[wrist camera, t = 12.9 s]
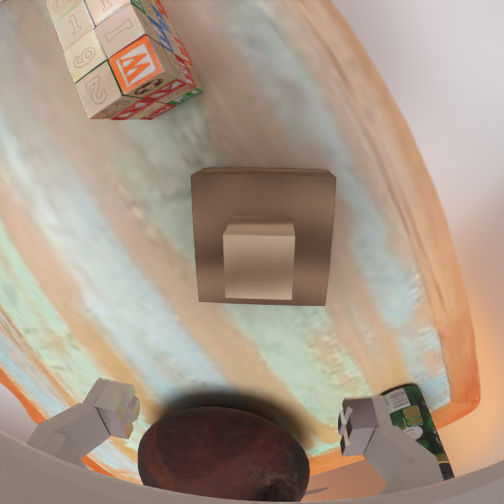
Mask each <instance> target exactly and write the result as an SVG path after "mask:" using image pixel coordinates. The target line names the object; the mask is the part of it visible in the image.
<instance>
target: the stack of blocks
mask: <svg viewBox="0 0 504 504" xmlns="http://www.w3.org/2000/svg"><path fill="white" fill-rule="evenodd" d="M46 5H47V8H48V11H49V14H50V17H51V20H52V23H53V25H54V26H55V30H56V33H57V36H58V38H59V41H60V44H61V47H62V49H63V51H64V53H63V54H64V57H65V60H66V63H67V66H68V68H69V71H70V73H71V76H72V79H73V81H74V83H75V88H76V91H77V93H78V96H79V98H80V101H81V103H82V106H83V108H84V111H85V113H86V116H87V117H88V119H107V118H109V119H110V120H126V119H144V120H145V119H147V120H151V119H153V118H155V117H157V116H158V115H160V114H162V113H164V112H166V111H167V110H169V109H171V108H173V107H175V106H176V105H178V104H179V103H181V102H183V101H185V100H187V99H189V98H191V97H193V96H195V95H197V94H199V93H201V92H203V89H202V87H201V84H200V82H199V80H198V78H197V76H196V74H195V72H194V70H193V67H192V63H191V61H190V59H189V57H188V55H187V53H186V51H185V49H184V47H183V45H182V43H181V41H180V39H179V36H178V34H177V32H176V30H175V28H174V26H173V24H172V22H171V21H170V20H169V19H168V17H167V15H166V13H165V11H164V9H163V7H162V5H161V3H160V2H159V0H47V1H46Z"/></svg>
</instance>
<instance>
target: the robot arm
mask: <svg viewBox="0 0 504 504" xmlns="http://www.w3.org/2000/svg"><path fill="white" fill-rule="evenodd" d="M1 1H3V0H0V2H1ZM134 393H135V388H134V386H133V385H131V384H126V383H121V382H117V381H112V380H107V379H103V378H99V379H97V381H96V382H95V384H94V385H93V387H92V389H91V390H90V392H89V393H88V395H87V397H86V398H85V400H84V401H83V403H82V404H81V403H78V404H77V405H75V406H73V407H71V408H69V409H67V410H65V411H63V412H61V413H59V414H58V415H56V416H54V417H52V418H50V419H48V420H46V421H44V422H42V423H40V424H38V426H37V427H36V429H35V431H34V432H33V434H32V435H31V437H30V438H29V440H28V441H27V443H26V444H25V443H23V442H21V441H19V440H17V439H15V438H13V437H11V436H9V435H8V434H6V433H4V432H2V431H0V504H504V460H503V461H500V462H498V463H495V464H493V465H491V466H488V467H485V468H482V469H480V470H477V471H474V472H471V473H468V474H465V475H462V476H458V477H455V478H452V479H448V480H445V481H444V479H443V476H442V473H441V470H440V467H439V464H438V461H437V458H436V456H435V455H433V454H432V453H431V452H429V451H428V450H427V449H426V448H424V447H423V446H422V445H420V444H419V443H418V442H417V441H415V440H414V439H413V438H411V437H410V436H409V435H408V434H406V433H405V432H404V431H403V430H401V429H400V428H399V427H398V426H393V425H392V421H391V418H390V415H389V412H388V409H387V405H386V402H385V399H384V397H383V396H382V395H378V396H364V397H350V398H344V400H343V403H342V407H343V410H342V411H340V414H339V418H338V431H339V434H340V435H341V436H342V439H341V442H340V445H341V452H342V456H352V455H363V456H364V457H365V458H366V460H368V462H369V463H370V464H371V465H372V466H373V467H374V468H375V470H376V471H377V472H378V473H379V474H380V475H381V476H382V477H383V478H384V479H385V480H386V481H387V484H386V486H385V487H384V488H383V490H382V491H381V492H380V494H379V495H375V496H368V497H360V498H351V499H342V500H329V501H311V502H262V501H244V500H231V499H221V498H212V497H204V496H197V495H190V494H184V493H178V492H173V491H168V490H163V489H158V488H153V487H149V486H145V485H140V484H136V483H132V482H129V481H125V480H121V479H118V478H114V477H111V476H107V475H104V474H101V473H98V472H95V471H91V470H89V469H87V466H86V465H85V464H84V462H83V461H82V460H81V458H82V457H84V456H85V455H86V454H88V453H89V452H90V451H92V450H93V449H94V448H96V447H97V446H98V445H100V444H101V443H102V442H104V441H105V440H106V439H107V438H109V437H110V435H111V436H115V437H120V438H124V439H129V437H130V434H131V432H132V430H133V425H132V422H134V421H135V420H137V418H138V416H139V411H140V403H139V400H138V398H137V397H136V396H135V395H134Z"/></svg>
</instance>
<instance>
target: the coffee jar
mask: <svg viewBox="0 0 504 504" xmlns="http://www.w3.org/2000/svg"><path fill="white" fill-rule="evenodd" d="M382 396H383V397H384V399H385V402H386V405H387V409H388V412H389V415H390V418H391V421H392V425H393V426H398V427H399V428H400V429H401V430H403V431H404V432H405V433H406V434H408V435H409V436H410V437H411V438H413V439H414V440H415V441H417V442H418V443H419V444H420V445H422V446H423V447H424V448H426V449H427V450H428V451H429V452H431V453H432V454H433V455H435V456H436V458H437V461H438V464H439V467H440V470H441V473H442V476H443V479H444V481H445V480H448V479H452V478H455V477H454V474H453V471H452V468H451V465H450V462H449V460H448V458H447V455H446V453H445V450H444V448H443V446H442V443H441V441H440V438H439V435H438V432H437V430H436V428H435V425H434V423H433V420H432V418H431V415H430V413H429V410H428V408H427V405H426V403H425V400H424V398H423V395H422V393H421V391H420V389H419V388H418V387H416V386H411V385H410V386H402V387H399V388H396V389H393V390H391V391H389V392H387V393H386V394H384V395H382Z"/></svg>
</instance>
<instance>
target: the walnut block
mask: <svg viewBox="0 0 504 504" xmlns="http://www.w3.org/2000/svg"><path fill="white" fill-rule="evenodd" d="M335 189H336V177H335V176H334V175H332V174H331V173H330V172H329V171H327V170H314V169H286V168H203V169H202V170H200V171H198V172H196V173H194V174H192V175H191V191H192V212H193V229H194V245H195V259H196V272H197V284H198V296H199V302H213V303H234V304H261V305H299V306H325V301H326V293H327V284H328V275H329V265H330V255H331V244H332V232H333V219H334V205H335ZM232 216H254V217H292V220H293V226H294V232H295V251H294V270H293V287H292V300H278V299H246V298H225V275H224V249H223V234H224V232H225V230H226V228H227V226H228V224H229V222H230V220H231V218H232Z"/></svg>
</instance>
